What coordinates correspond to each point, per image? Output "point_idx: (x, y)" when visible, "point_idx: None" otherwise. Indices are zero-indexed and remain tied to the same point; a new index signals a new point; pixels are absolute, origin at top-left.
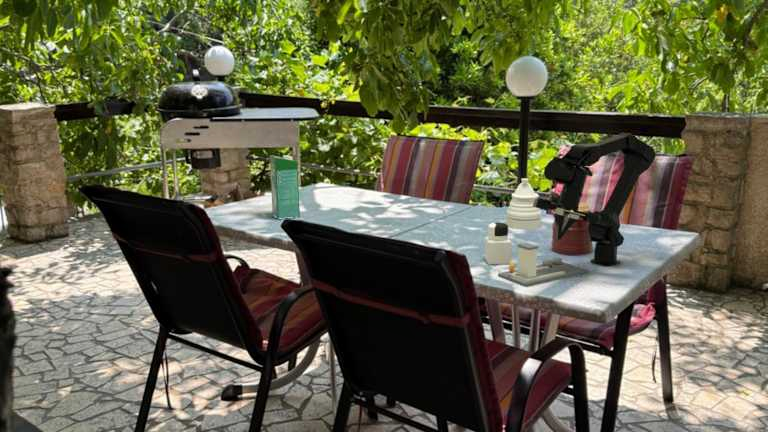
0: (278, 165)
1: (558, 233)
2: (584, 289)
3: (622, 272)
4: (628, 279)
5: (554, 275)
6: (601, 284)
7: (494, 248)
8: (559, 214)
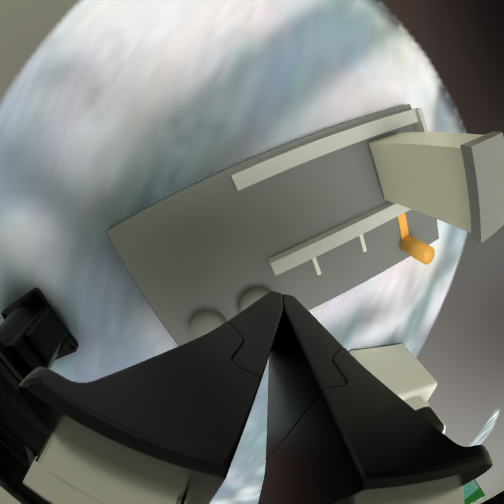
0: (479, 492)
1: (310, 317)
2: (213, 17)
3: (5, 214)
4: (11, 129)
5: (290, 150)
6: (118, 65)
7: (416, 373)
8: (412, 501)
